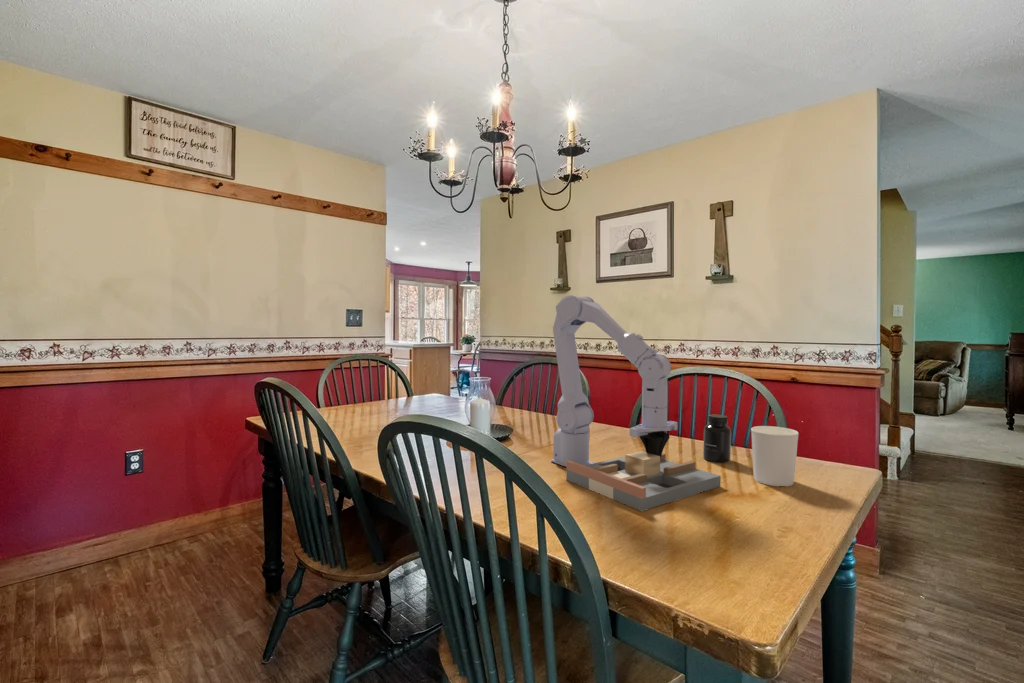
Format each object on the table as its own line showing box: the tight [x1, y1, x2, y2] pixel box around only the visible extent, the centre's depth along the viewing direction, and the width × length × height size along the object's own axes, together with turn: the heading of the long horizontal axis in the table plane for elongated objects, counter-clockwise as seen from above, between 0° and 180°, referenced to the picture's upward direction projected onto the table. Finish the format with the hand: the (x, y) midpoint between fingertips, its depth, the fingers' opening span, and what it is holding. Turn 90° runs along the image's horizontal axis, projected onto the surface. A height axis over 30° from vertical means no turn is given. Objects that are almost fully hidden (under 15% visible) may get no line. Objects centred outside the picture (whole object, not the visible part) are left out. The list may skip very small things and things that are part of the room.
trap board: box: [565, 452, 722, 512], centre depth 112 cm, size 23×26×4 cm
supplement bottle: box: [702, 414, 732, 464], centre depth 131 cm, size 7×7×12 cm
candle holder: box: [750, 425, 800, 487], centre depth 113 cm, size 10×10×12 cm
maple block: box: [624, 450, 660, 477], centre depth 111 cm, size 6×6×4 cm
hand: (653, 463), depth 114 cm, fingers closed
